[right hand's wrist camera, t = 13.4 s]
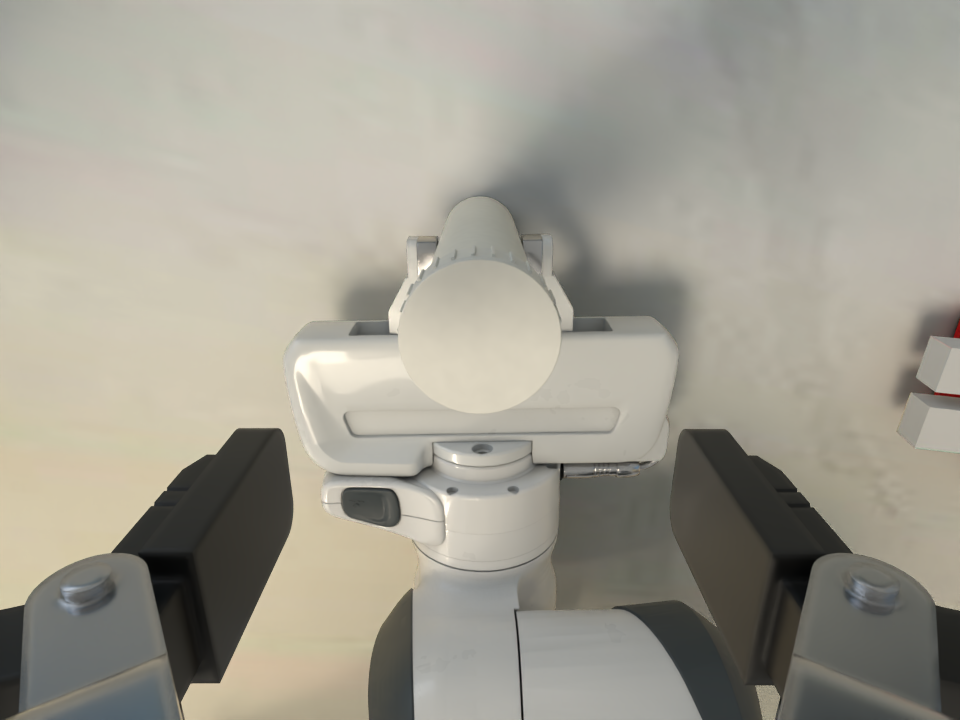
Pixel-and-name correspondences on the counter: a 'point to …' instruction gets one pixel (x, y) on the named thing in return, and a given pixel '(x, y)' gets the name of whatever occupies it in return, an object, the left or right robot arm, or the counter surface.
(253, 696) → the counter surface
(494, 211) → the slender white bottle
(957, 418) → the toy
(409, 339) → the lid
